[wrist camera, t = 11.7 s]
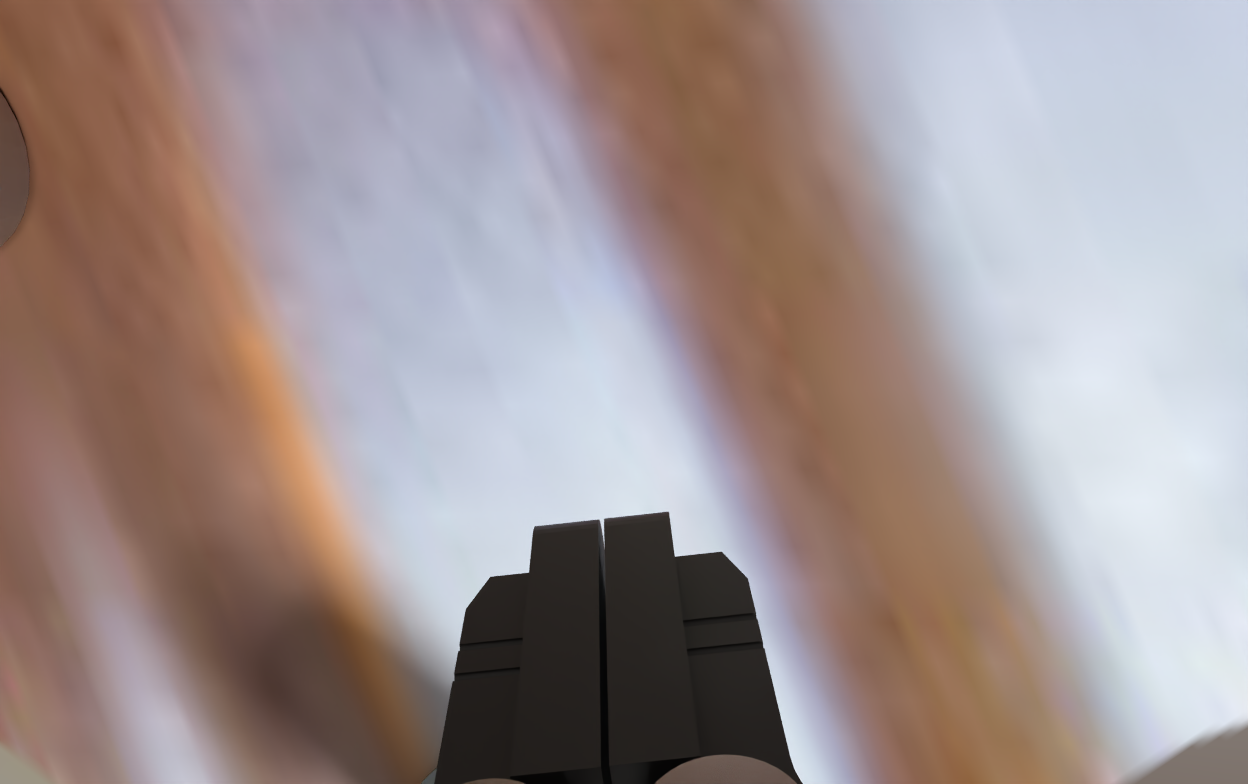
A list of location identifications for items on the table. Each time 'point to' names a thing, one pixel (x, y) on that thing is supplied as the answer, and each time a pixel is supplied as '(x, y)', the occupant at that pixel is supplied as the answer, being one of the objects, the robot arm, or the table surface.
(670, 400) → the table surface
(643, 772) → the robot arm
